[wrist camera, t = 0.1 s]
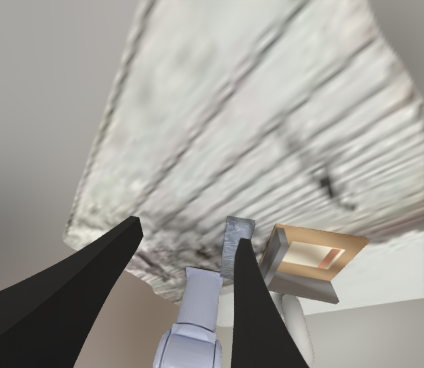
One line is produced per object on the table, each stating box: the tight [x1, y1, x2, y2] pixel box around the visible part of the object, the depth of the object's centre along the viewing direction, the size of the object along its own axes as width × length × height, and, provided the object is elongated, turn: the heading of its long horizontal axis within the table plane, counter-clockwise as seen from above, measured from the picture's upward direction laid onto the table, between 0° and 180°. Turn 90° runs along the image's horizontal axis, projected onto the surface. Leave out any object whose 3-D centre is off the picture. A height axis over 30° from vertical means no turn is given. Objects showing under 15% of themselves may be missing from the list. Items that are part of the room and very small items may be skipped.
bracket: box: [220, 216, 255, 280], centre depth 22 cm, size 6×4×6 cm, turn 177°
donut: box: [282, 294, 315, 367], centre depth 28 cm, size 10×4×10 cm, turn 21°
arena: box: [259, 224, 370, 304], centre depth 23 cm, size 12×12×4 cm
